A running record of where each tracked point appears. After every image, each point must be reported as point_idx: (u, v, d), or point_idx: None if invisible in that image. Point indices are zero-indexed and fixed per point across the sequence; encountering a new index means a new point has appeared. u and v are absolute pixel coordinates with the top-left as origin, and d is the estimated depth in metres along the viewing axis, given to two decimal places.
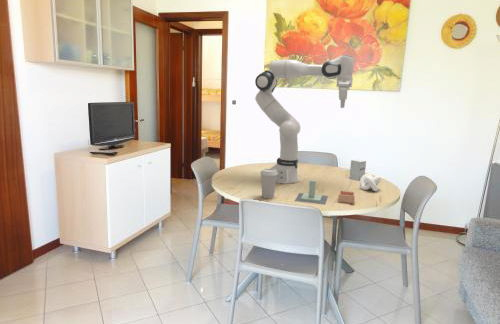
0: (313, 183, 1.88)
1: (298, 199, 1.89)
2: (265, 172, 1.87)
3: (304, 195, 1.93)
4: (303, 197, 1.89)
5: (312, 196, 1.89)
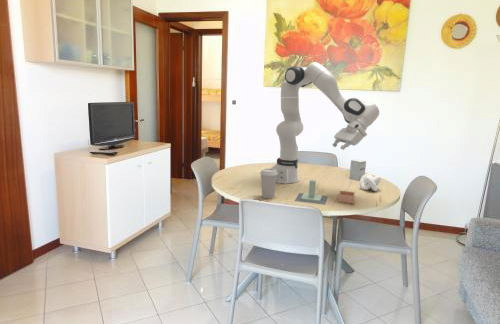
0: (313, 183, 1.88)
1: (298, 199, 1.89)
2: (265, 172, 1.87)
3: (304, 195, 1.93)
4: (303, 197, 1.89)
5: (312, 196, 1.89)
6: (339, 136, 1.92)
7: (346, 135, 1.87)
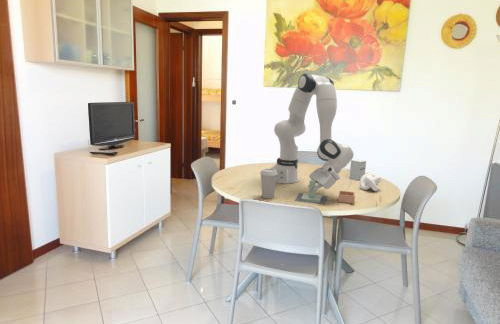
0: (313, 183, 1.88)
1: (298, 199, 1.89)
2: (265, 172, 1.87)
3: (304, 195, 1.93)
4: (303, 197, 1.89)
5: (312, 196, 1.89)
6: (313, 177, 1.93)
7: (320, 177, 1.88)
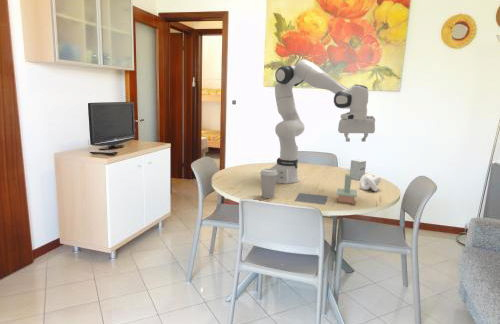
0: (349, 178, 1.85)
1: (298, 199, 1.89)
2: (265, 172, 1.87)
3: (339, 190, 1.90)
4: (338, 192, 1.86)
5: (348, 191, 1.86)
6: None
7: None
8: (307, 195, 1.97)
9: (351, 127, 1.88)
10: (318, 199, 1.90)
